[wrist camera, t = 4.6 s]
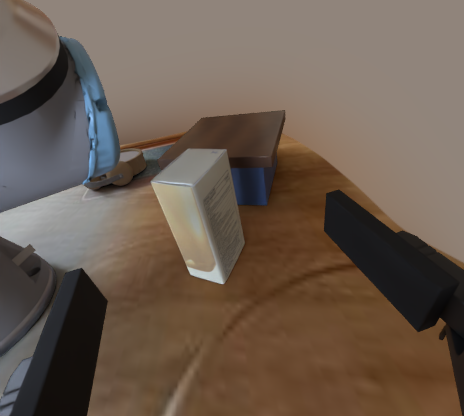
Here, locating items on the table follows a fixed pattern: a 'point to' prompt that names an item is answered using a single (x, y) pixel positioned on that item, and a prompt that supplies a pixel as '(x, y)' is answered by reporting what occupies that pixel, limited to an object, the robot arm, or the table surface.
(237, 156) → the board
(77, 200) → the table surface
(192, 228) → the cosmetic box
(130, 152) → the alarm clock
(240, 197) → the blue box
